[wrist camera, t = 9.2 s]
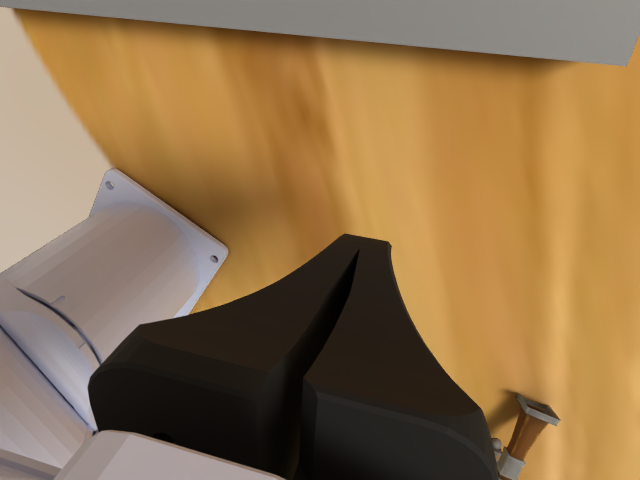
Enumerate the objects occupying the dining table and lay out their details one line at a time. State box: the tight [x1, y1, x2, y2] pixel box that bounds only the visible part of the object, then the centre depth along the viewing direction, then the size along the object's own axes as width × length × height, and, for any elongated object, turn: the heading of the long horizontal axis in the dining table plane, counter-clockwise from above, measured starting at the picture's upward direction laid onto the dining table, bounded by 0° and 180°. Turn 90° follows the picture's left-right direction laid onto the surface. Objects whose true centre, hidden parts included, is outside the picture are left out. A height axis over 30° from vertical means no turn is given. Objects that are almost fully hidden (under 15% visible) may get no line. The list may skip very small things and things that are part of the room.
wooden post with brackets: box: [492, 393, 561, 480], centre depth 26 cm, size 2×8×4 cm, turn 163°
